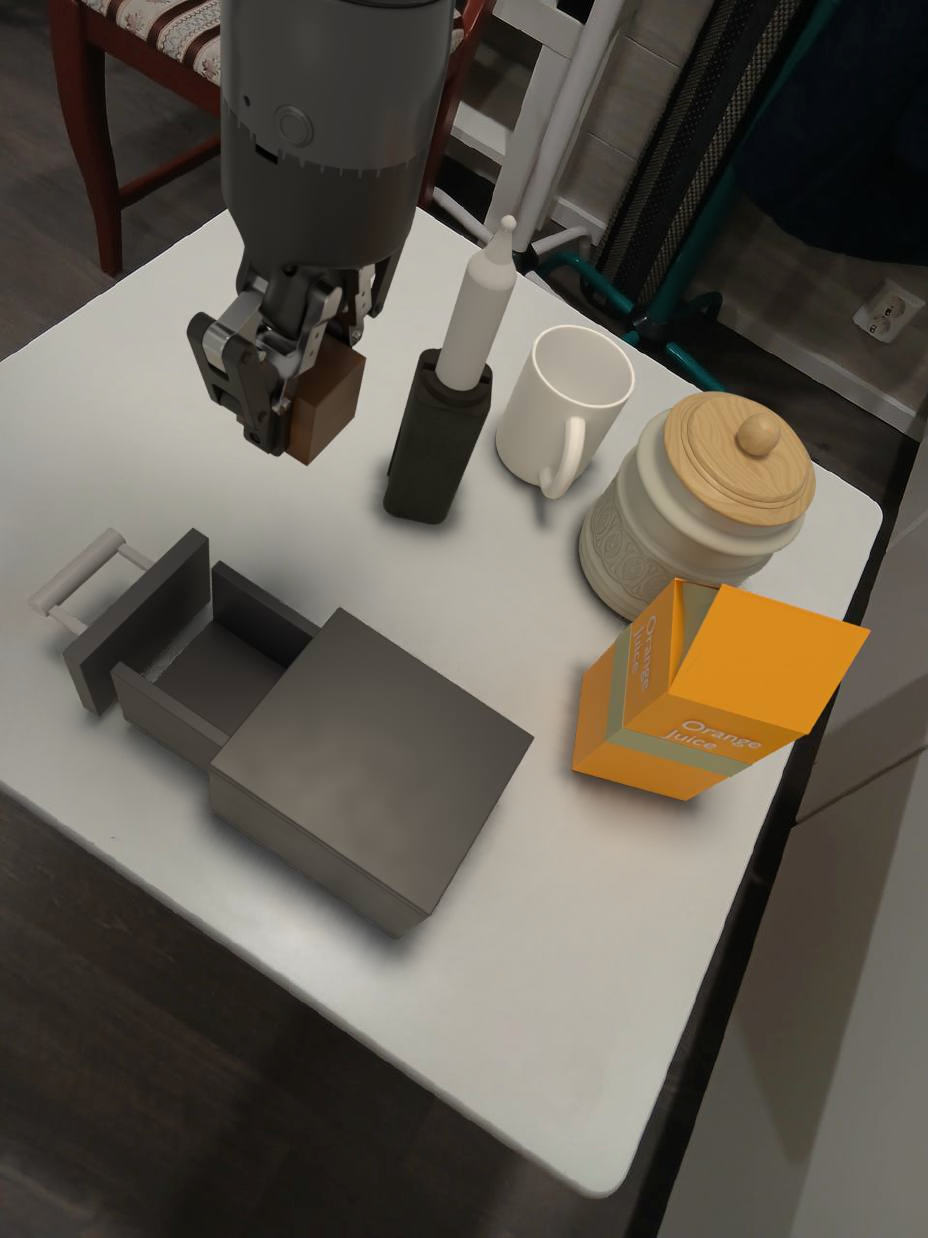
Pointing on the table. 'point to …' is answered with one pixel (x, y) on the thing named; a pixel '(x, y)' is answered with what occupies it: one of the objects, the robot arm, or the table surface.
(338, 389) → the block
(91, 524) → the table surface
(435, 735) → the fryer
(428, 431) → the candle
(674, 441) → the jar
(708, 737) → the orange juice
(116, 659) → the basket
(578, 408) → the mug
